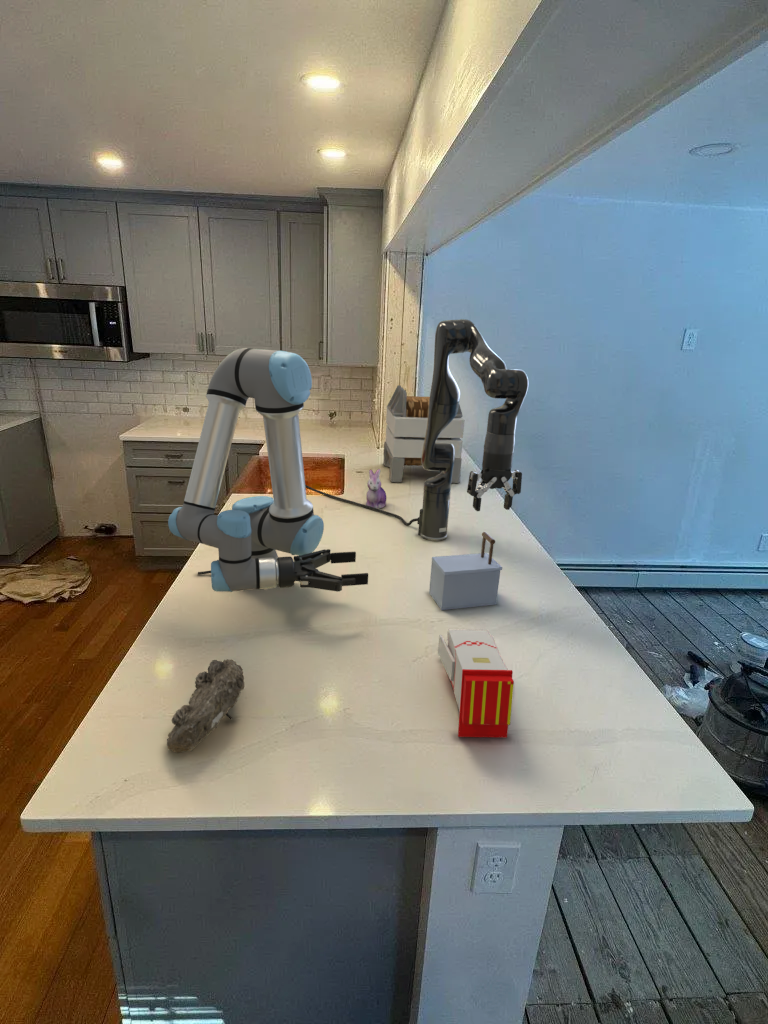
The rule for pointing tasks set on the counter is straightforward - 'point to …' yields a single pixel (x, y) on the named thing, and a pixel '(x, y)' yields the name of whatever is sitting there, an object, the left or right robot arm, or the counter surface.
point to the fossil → (206, 705)
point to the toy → (478, 682)
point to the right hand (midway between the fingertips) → (491, 509)
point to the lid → (469, 561)
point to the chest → (463, 588)
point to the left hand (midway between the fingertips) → (361, 567)
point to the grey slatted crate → (415, 434)
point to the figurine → (375, 491)
